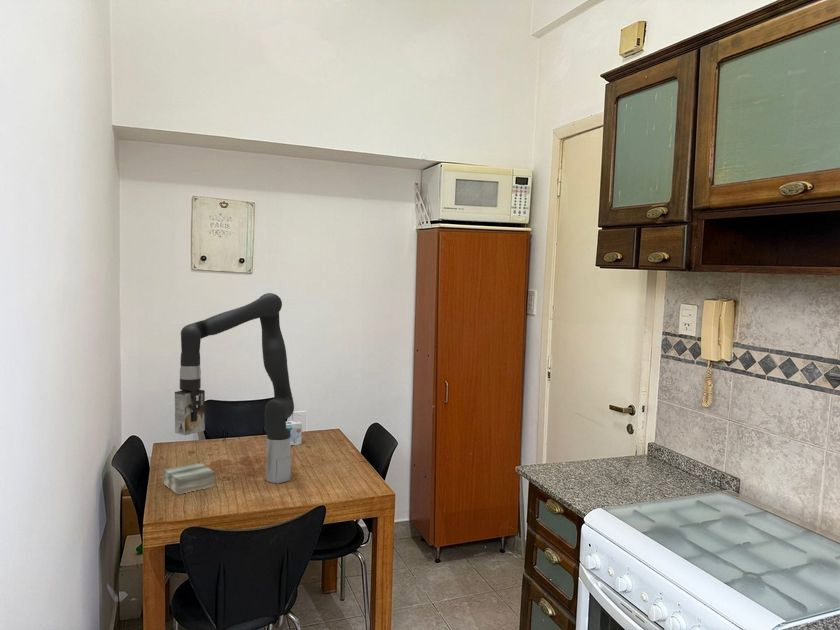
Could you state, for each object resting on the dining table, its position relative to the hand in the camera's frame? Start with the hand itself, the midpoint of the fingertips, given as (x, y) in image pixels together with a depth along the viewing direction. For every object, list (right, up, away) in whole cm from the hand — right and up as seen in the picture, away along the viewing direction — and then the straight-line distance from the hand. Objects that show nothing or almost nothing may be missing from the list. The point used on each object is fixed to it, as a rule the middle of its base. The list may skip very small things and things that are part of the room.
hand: (189, 419), depth 225 cm
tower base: (-1, -26, +1) cm, 26 cm away
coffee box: (0, -5, 0) cm, 5 cm away
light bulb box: (+25, -23, +61) cm, 70 cm away
